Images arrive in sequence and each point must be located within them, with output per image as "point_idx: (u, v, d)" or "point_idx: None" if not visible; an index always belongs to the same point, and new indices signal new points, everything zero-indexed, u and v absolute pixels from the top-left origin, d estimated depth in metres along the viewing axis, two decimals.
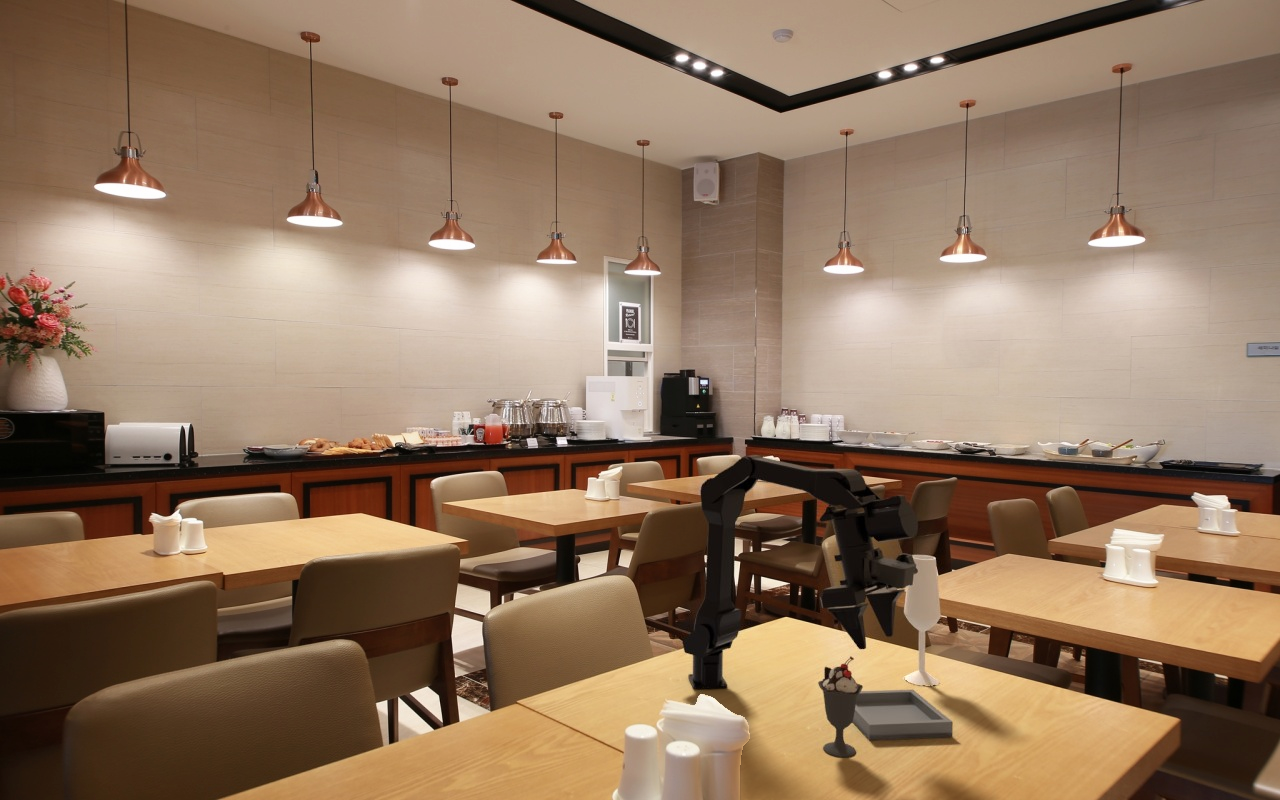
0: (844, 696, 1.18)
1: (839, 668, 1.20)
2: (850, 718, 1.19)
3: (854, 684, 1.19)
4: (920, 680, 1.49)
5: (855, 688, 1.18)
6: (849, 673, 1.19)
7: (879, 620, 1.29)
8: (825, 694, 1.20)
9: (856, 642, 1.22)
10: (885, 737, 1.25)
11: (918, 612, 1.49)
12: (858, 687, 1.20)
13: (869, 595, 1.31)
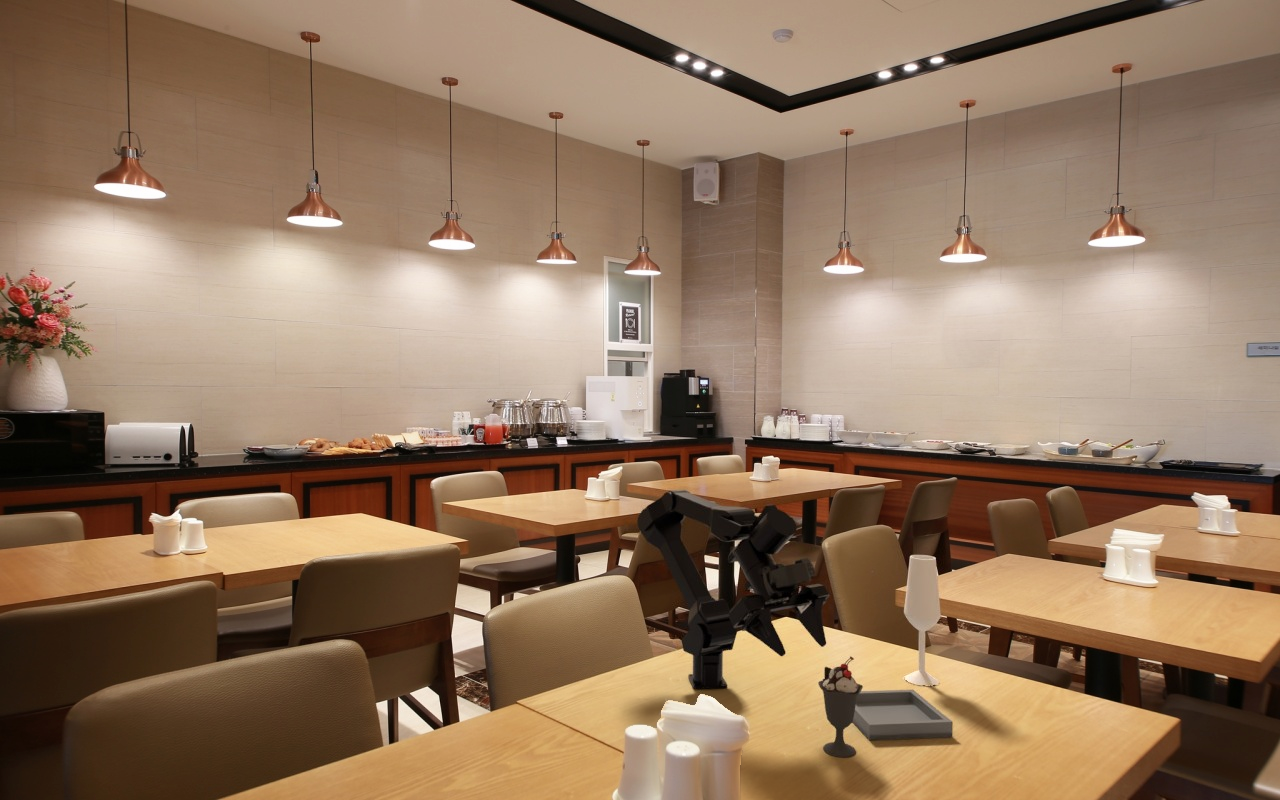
0: (844, 696, 1.18)
1: (839, 668, 1.20)
2: (850, 718, 1.19)
3: (854, 684, 1.19)
4: (920, 680, 1.49)
5: (855, 688, 1.18)
6: (849, 673, 1.19)
7: (812, 635, 1.32)
8: (825, 694, 1.20)
9: (776, 650, 1.26)
10: (885, 737, 1.25)
11: (918, 612, 1.49)
12: (858, 687, 1.20)
13: (799, 616, 1.36)
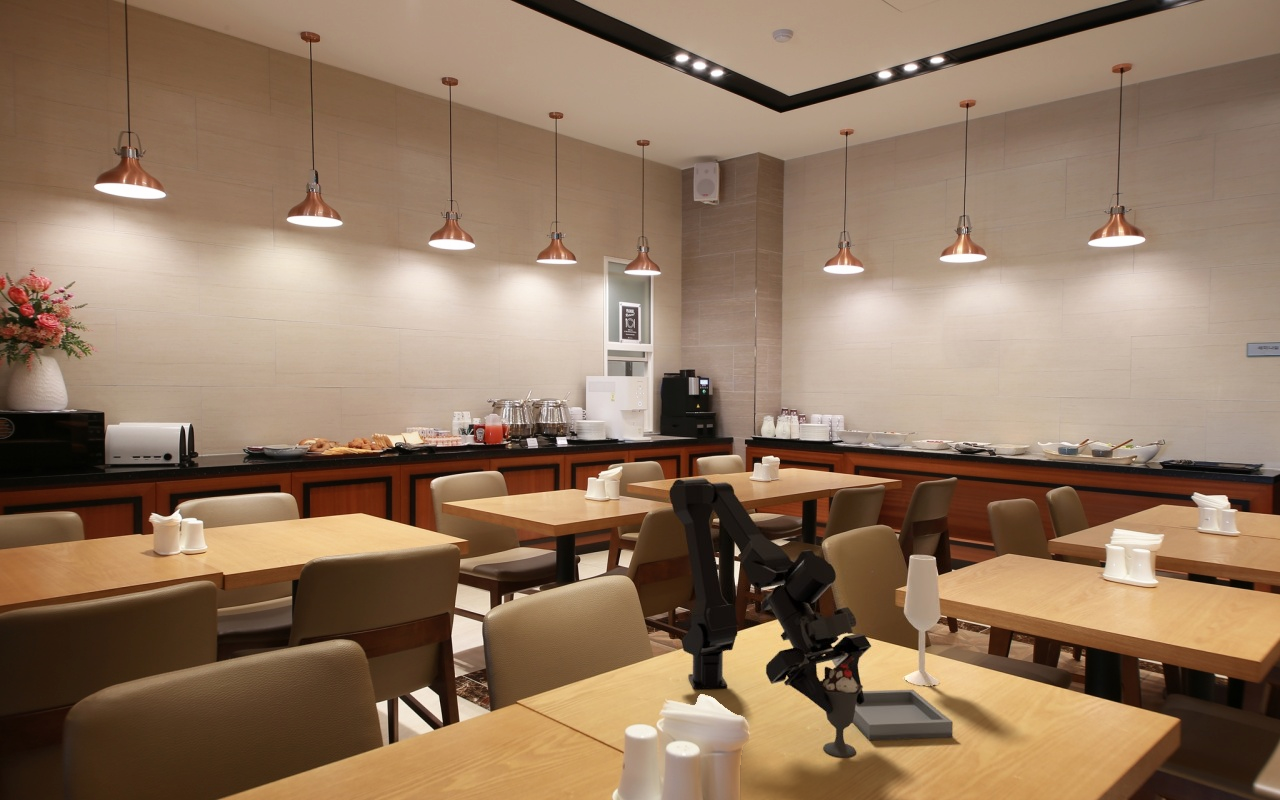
0: (844, 696, 1.18)
1: (839, 668, 1.20)
2: (850, 718, 1.19)
3: (854, 684, 1.19)
4: (920, 680, 1.49)
5: (855, 688, 1.18)
6: (849, 673, 1.19)
7: None
8: None
9: (823, 707, 1.18)
10: (885, 737, 1.25)
11: (918, 612, 1.49)
12: (858, 687, 1.20)
13: None
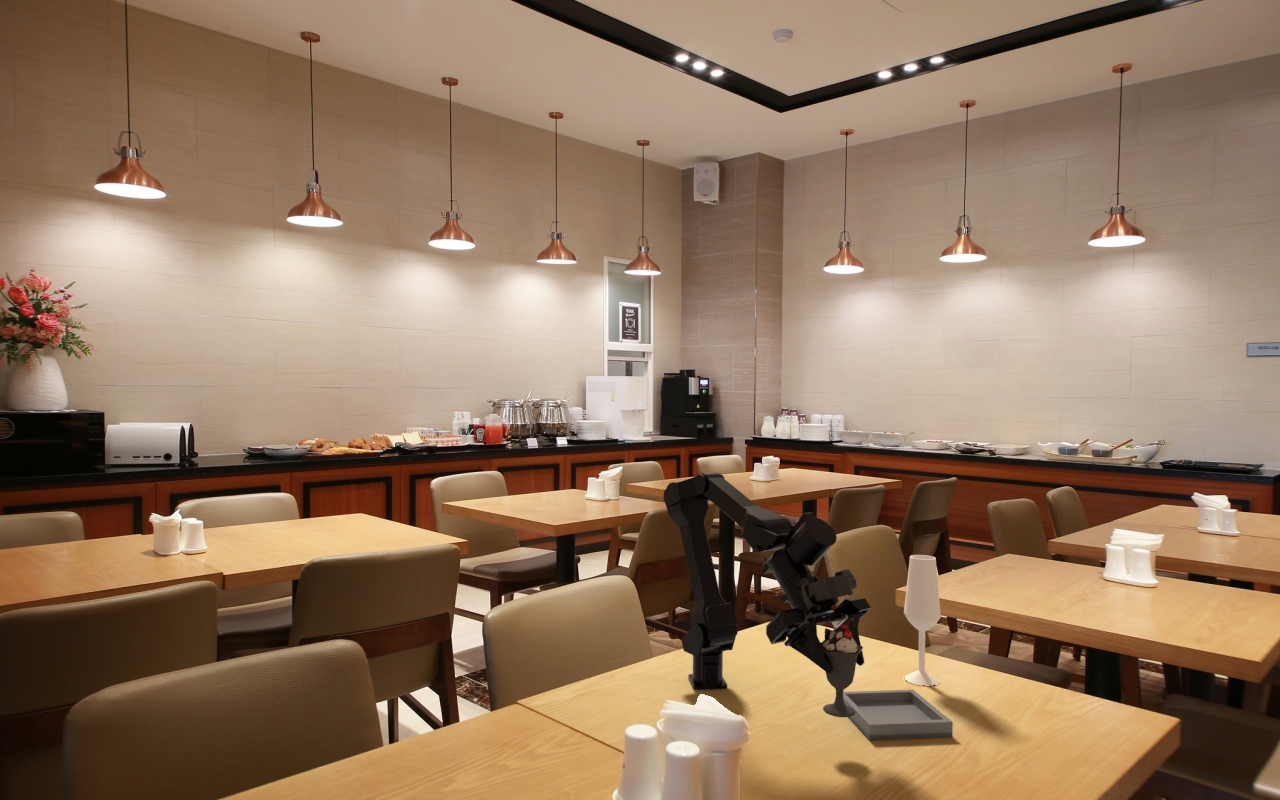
0: (844, 656, 1.18)
1: (839, 629, 1.20)
2: (850, 678, 1.19)
3: (854, 644, 1.19)
4: (920, 680, 1.49)
5: (855, 648, 1.19)
6: (849, 633, 1.19)
7: None
8: None
9: (823, 667, 1.18)
10: (885, 737, 1.25)
11: (918, 612, 1.49)
12: (858, 648, 1.20)
13: None
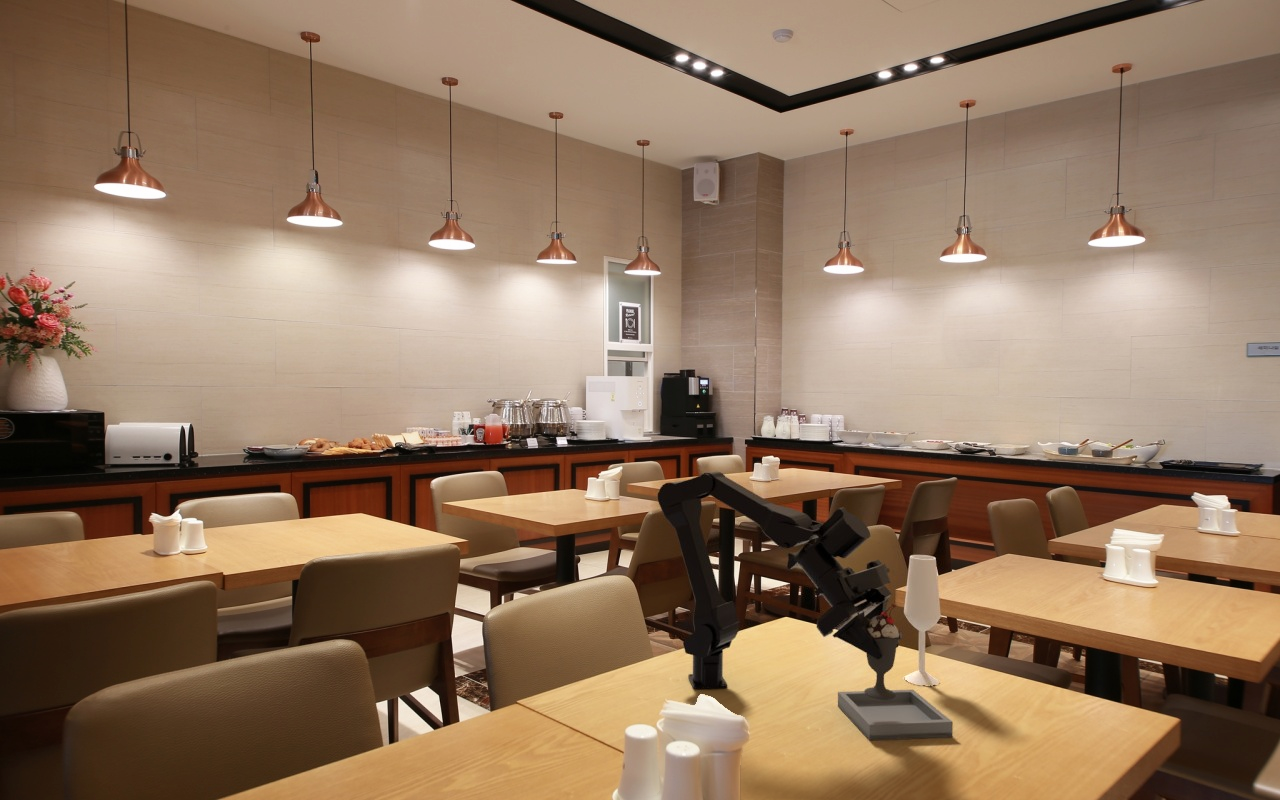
0: (891, 641, 1.25)
1: (881, 616, 1.27)
2: (893, 662, 1.26)
3: (897, 630, 1.26)
4: (920, 680, 1.49)
5: (898, 633, 1.26)
6: (892, 620, 1.26)
7: None
8: None
9: (872, 654, 1.24)
10: (885, 737, 1.25)
11: (918, 612, 1.49)
12: None
13: None
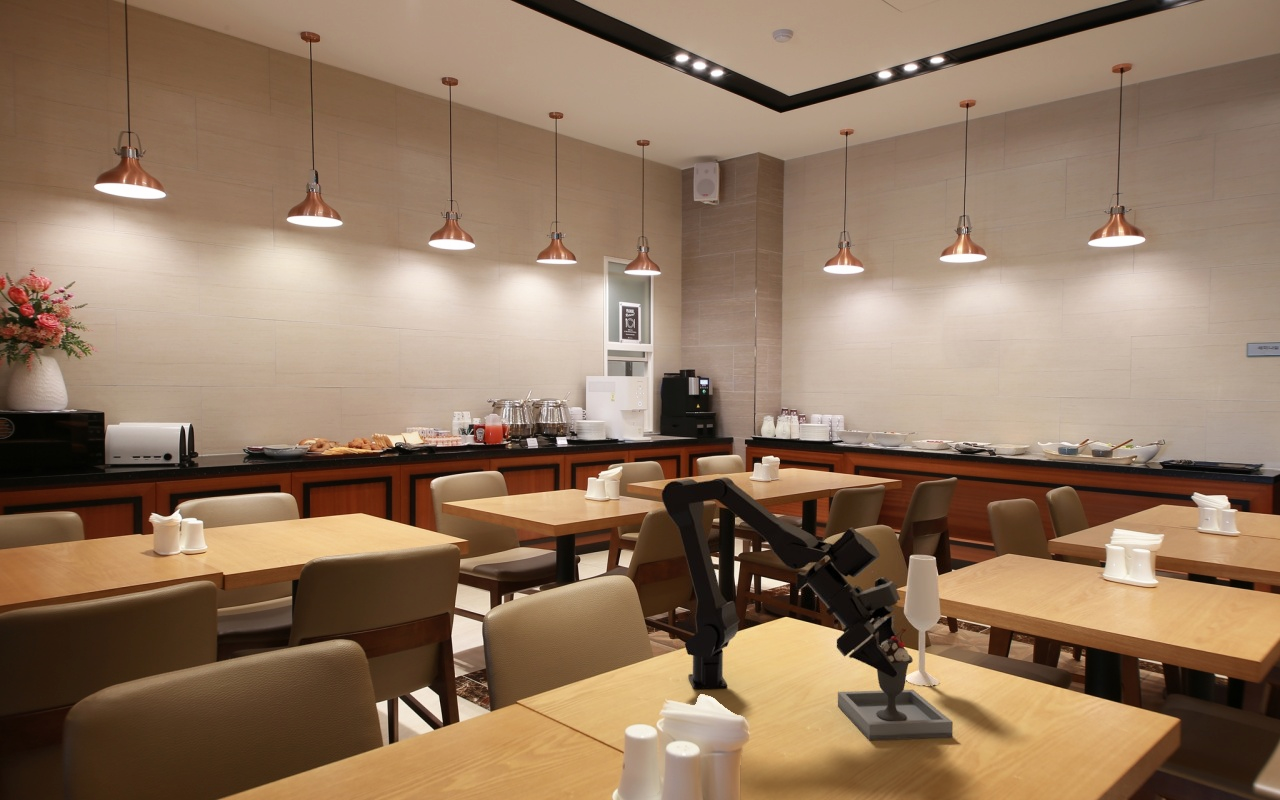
0: (903, 665, 1.30)
1: (892, 641, 1.32)
2: (904, 684, 1.31)
3: (907, 653, 1.31)
4: (920, 680, 1.49)
5: (909, 656, 1.31)
6: (903, 643, 1.31)
7: None
8: None
9: (887, 672, 1.27)
10: (885, 737, 1.25)
11: (918, 612, 1.49)
12: None
13: None
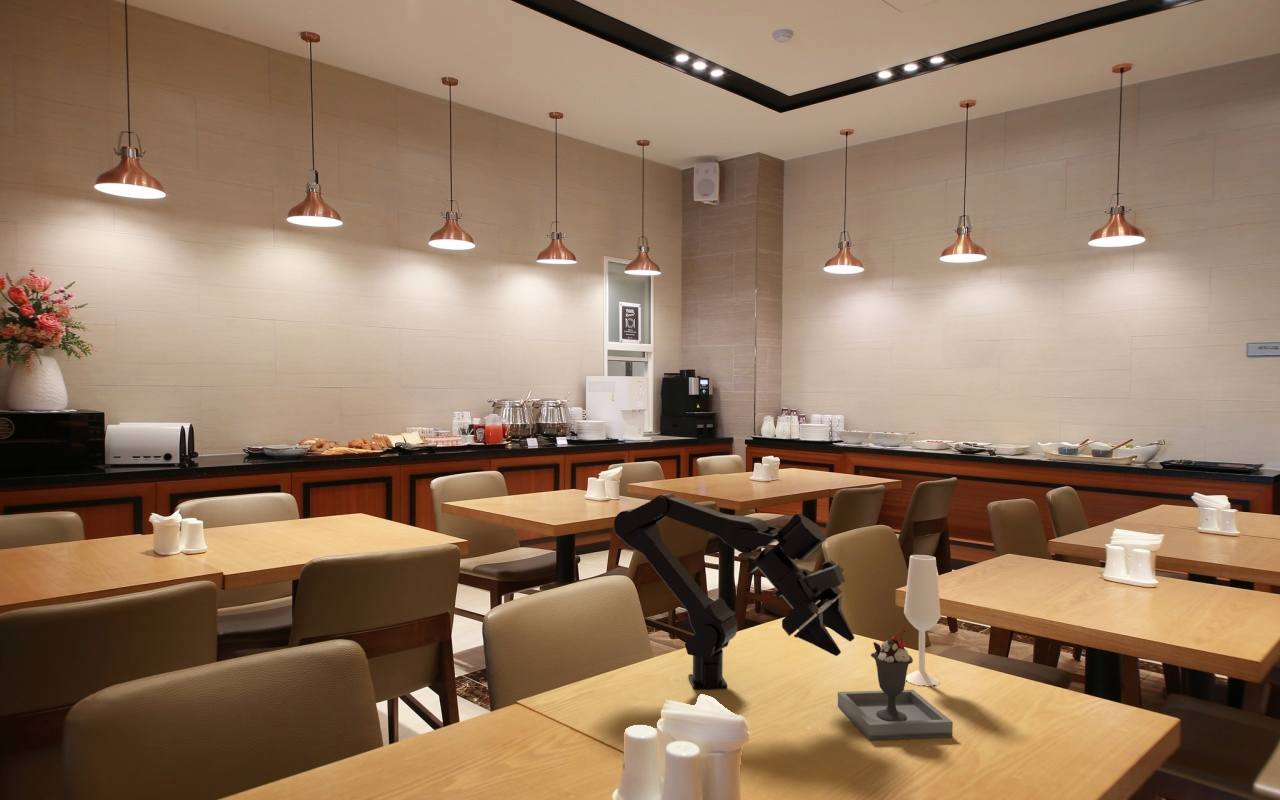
0: (903, 665, 1.30)
1: (892, 641, 1.32)
2: (904, 685, 1.31)
3: None
4: (920, 680, 1.49)
5: (909, 657, 1.31)
6: (904, 644, 1.31)
7: (837, 631, 1.41)
8: (885, 667, 1.30)
9: (831, 651, 1.32)
10: (885, 737, 1.25)
11: (918, 612, 1.49)
12: None
13: None
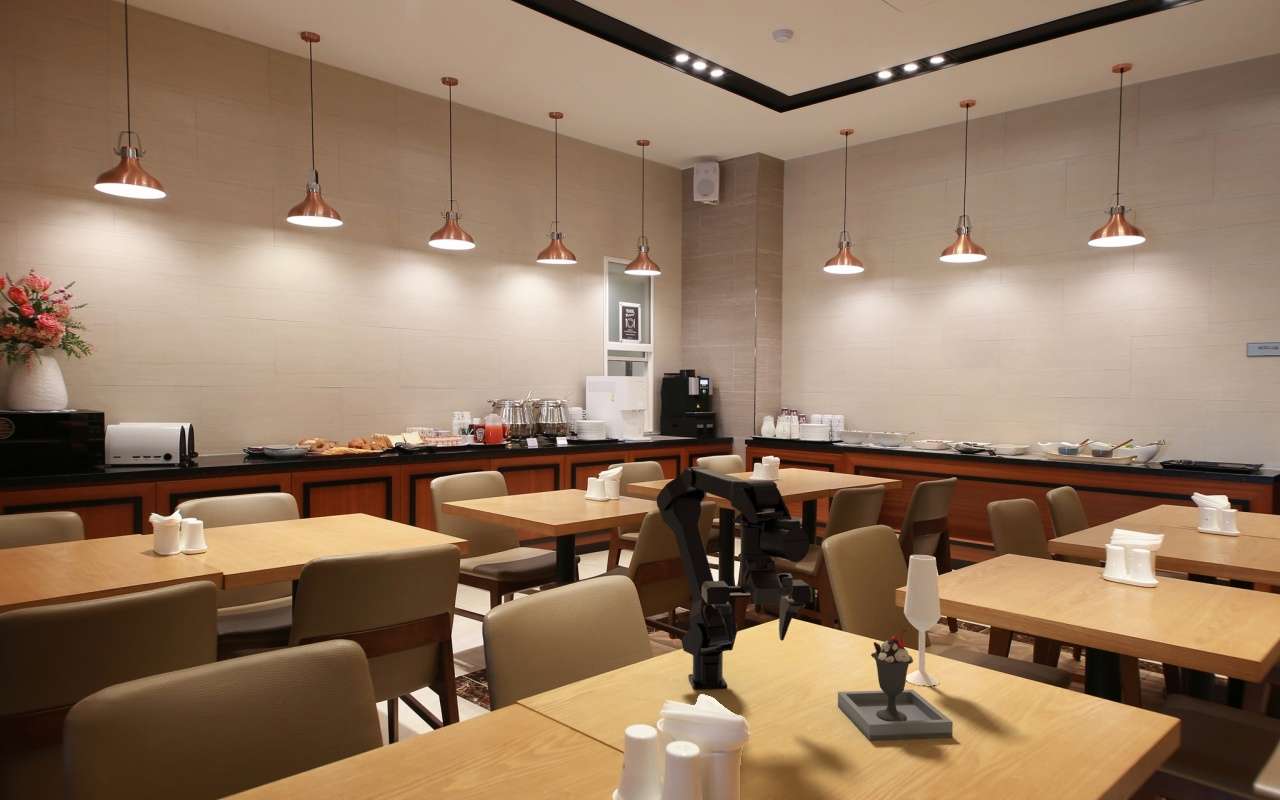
0: (904, 665, 1.30)
1: (892, 641, 1.32)
2: (904, 685, 1.31)
3: None
4: (920, 680, 1.49)
5: (909, 657, 1.31)
6: (904, 644, 1.31)
7: (779, 623, 1.38)
8: (885, 667, 1.30)
9: (726, 633, 1.37)
10: (885, 737, 1.25)
11: (918, 612, 1.49)
12: None
13: (781, 598, 1.39)
